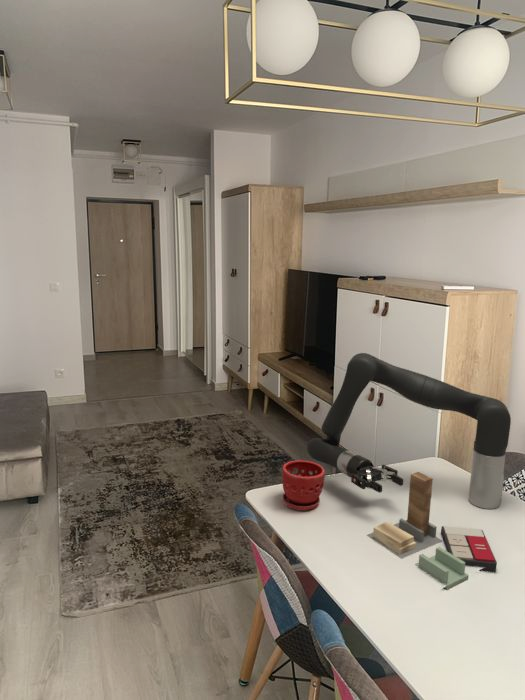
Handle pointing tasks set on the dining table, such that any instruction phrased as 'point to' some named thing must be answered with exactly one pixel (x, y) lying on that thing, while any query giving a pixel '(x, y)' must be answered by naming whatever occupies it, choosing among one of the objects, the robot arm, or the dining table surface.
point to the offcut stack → (394, 538)
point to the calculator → (469, 547)
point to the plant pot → (302, 484)
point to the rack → (418, 538)
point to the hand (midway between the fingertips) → (392, 485)
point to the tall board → (419, 501)
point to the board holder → (444, 568)
